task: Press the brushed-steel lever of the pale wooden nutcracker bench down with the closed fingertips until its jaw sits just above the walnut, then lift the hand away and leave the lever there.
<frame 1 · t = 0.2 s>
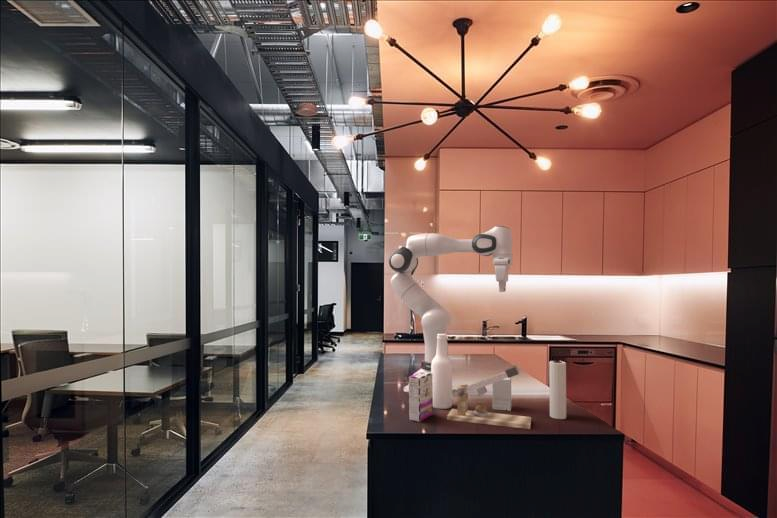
hand: (502, 291, 205), 48 cm above the countertop, tool pointing down, fingers open, 8 cm apart
nutcracker bench: (489, 420, 170), on the countertop
lever: (488, 383, 171), point 14 cm above the countertop, hinge at -25.0°
supplement box: (502, 408, 187), on the countertop
alcohol: (441, 406, 188), on the countertop
candy bar box: (420, 418, 173), on the countertop
paper towel roll: (559, 417, 175), on the countertop
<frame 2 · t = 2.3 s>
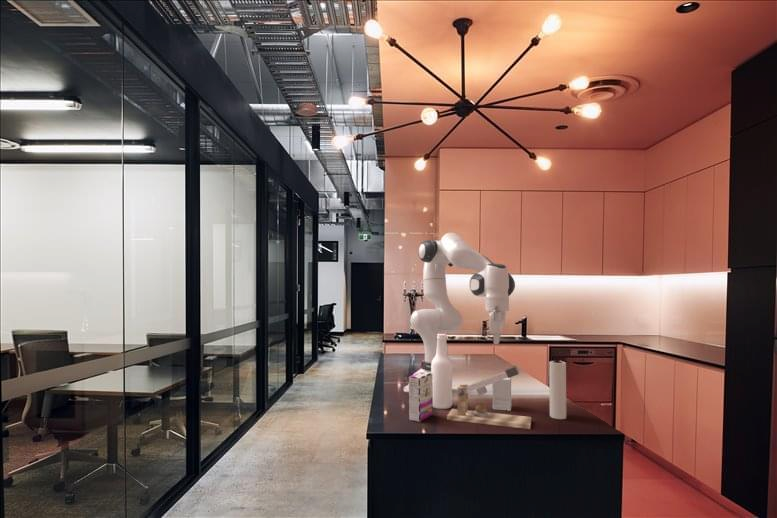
hand: (497, 342, 170), 29 cm above the countertop, tool pointing down, fingers open, 5 cm apart
nothing on the countertop moved.
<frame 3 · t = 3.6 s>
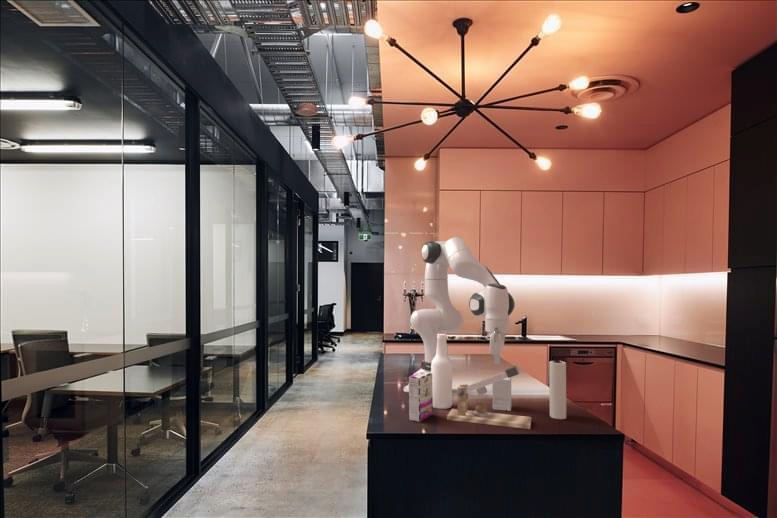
hand: (497, 363, 170), 21 cm above the countertop, tool pointing down, fingers closed
nothing on the countertop moved.
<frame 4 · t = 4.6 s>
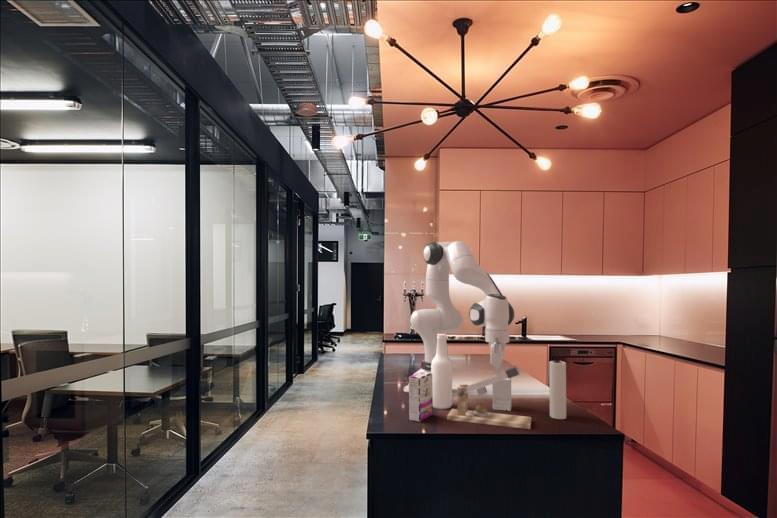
hand: (497, 374, 170), 17 cm above the countertop, tool pointing down, fingers closed, pressing on lever
lever: (488, 384, 171), point 13 cm above the countertop, hinge at -24.4°, touching gripper
everything else where it was.
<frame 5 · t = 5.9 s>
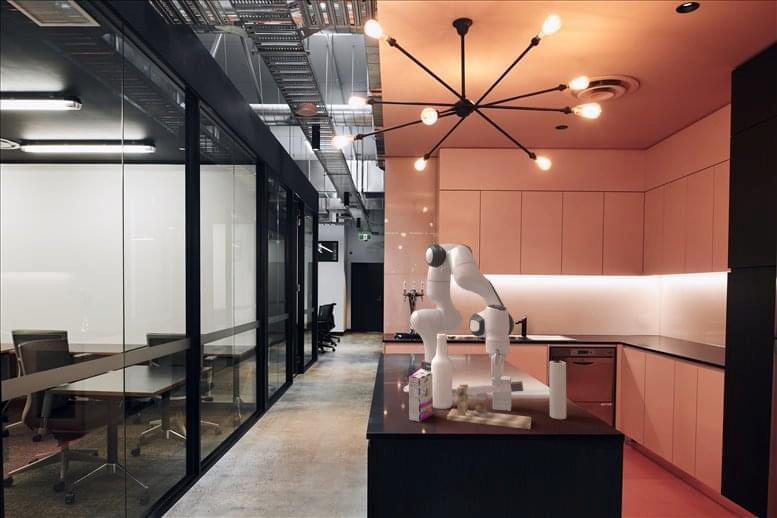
hand: (498, 385, 169), 13 cm above the countertop, tool pointing down, fingers closed, pressing on lever
lever: (490, 391, 170), point 11 cm above the countertop, hinge at -9.3°, touching gripper
everything else where it was.
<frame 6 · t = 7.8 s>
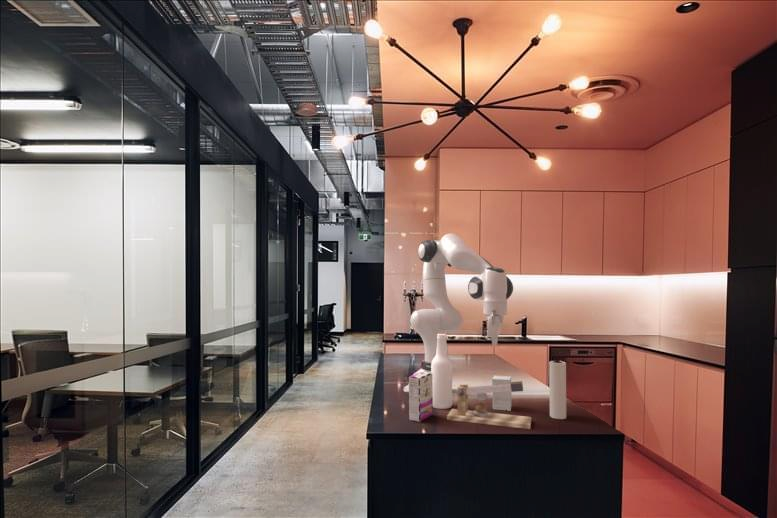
hand: (494, 346, 172), 28 cm above the countertop, tool pointing down, fingers closed
lever: (490, 391, 170), point 11 cm above the countertop, hinge at -9.3°
everything else where it was.
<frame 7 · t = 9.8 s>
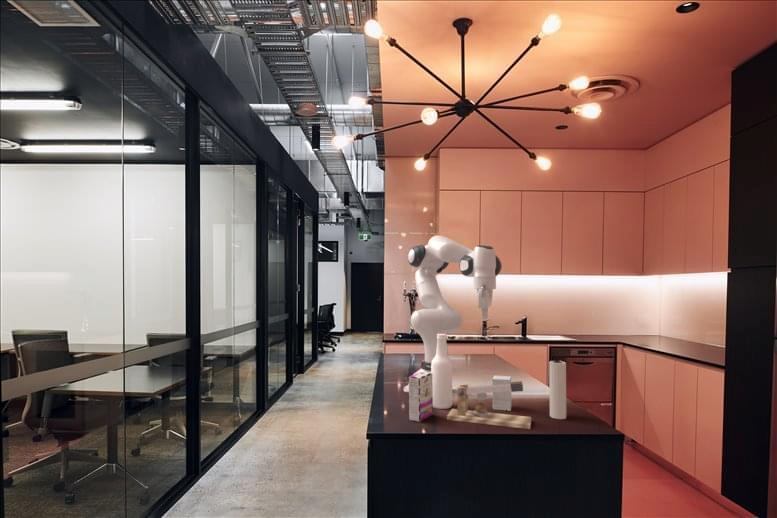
hand: (484, 318, 183), 37 cm above the countertop, tool pointing down, fingers closed
nothing on the countertop moved.
at the end: lever at -9° (first picture: -25°); the gripper is holding nothing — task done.
